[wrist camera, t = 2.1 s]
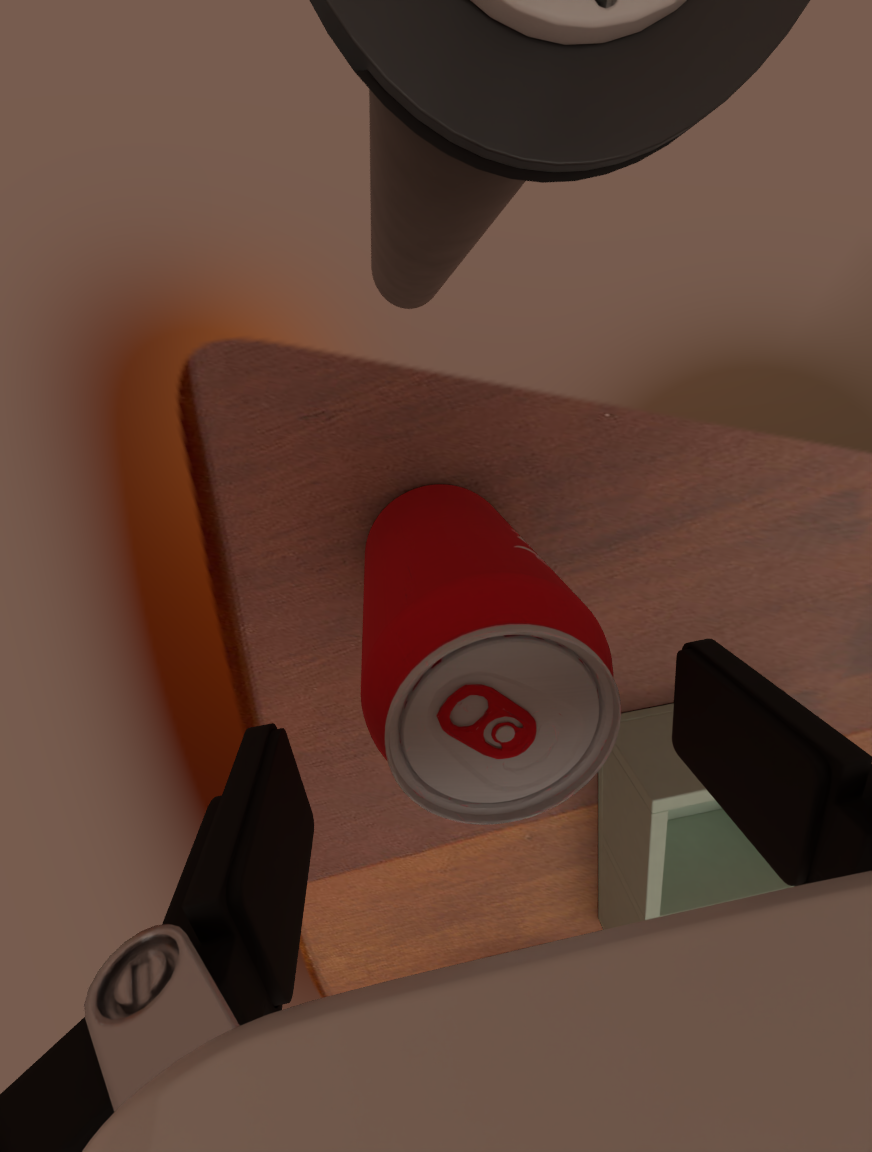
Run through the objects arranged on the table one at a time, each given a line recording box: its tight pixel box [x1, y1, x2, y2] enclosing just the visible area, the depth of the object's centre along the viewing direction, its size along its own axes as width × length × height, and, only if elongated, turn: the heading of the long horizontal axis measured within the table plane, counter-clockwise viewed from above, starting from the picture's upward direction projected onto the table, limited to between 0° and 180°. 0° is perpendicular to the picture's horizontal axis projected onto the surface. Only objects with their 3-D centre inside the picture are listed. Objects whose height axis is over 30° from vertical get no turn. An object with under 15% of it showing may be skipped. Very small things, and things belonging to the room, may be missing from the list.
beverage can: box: [361, 484, 621, 824], centre depth 16 cm, size 6×6×12 cm
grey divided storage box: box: [598, 703, 794, 930], centre depth 27 cm, size 18×9×6 cm, turn 8°
